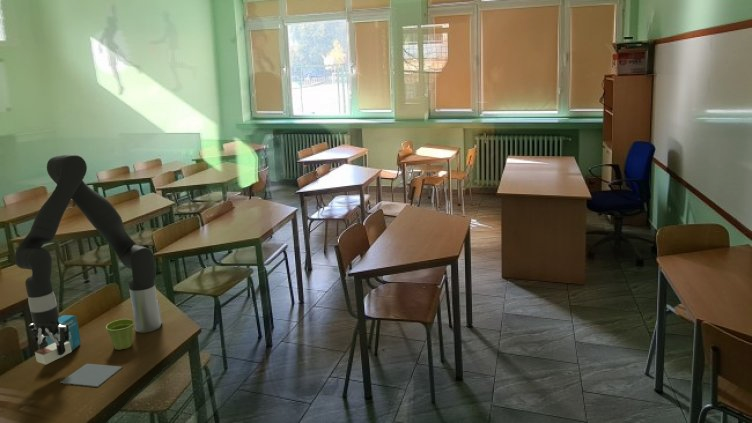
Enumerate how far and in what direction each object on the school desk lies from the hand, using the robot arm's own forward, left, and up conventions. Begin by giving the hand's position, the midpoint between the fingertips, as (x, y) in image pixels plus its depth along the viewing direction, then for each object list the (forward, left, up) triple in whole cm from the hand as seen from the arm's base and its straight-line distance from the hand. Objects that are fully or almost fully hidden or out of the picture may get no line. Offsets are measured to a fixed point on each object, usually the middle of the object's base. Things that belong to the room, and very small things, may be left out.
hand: (53, 353), depth 183 cm
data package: (-14, -9, -8) cm, 18 cm away
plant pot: (-21, +10, -8) cm, 24 cm away
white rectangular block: (0, 0, -1) cm, 1 cm away
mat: (-1, +13, -7) cm, 15 cm away
